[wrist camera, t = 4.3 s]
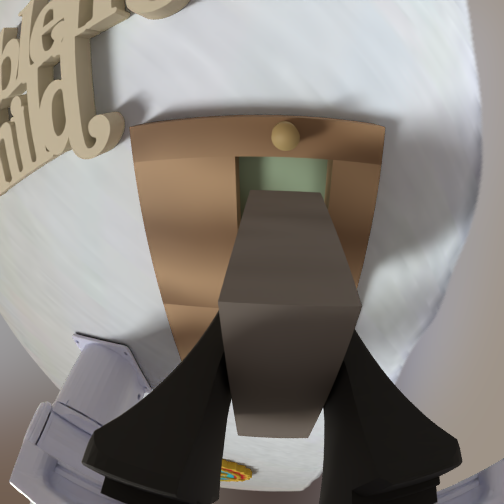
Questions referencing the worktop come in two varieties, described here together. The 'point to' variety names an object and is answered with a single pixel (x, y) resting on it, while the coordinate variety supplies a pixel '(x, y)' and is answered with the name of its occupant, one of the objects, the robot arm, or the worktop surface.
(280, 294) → the metal block
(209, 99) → the worktop surface
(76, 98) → the decorative sign
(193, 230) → the board
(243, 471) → the decorative plaque
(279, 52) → the worktop surface
